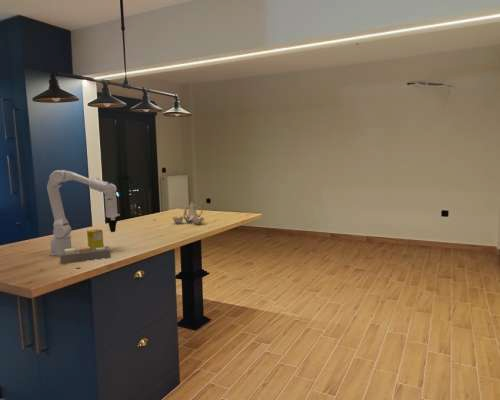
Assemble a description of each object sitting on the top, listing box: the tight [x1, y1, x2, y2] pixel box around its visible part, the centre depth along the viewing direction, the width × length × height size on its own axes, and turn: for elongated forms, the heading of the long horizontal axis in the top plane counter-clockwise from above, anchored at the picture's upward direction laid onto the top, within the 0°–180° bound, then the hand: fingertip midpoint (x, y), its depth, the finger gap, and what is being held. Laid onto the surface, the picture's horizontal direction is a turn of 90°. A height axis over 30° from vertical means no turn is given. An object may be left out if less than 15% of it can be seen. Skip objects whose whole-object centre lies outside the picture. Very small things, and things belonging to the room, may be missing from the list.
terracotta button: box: [79, 246, 90, 252], centre depth 189 cm, size 4×4×3 cm
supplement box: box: [86, 228, 105, 248], centre depth 207 cm, size 6×6×11 cm
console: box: [59, 245, 111, 265], centre depth 189 cm, size 10×22×4 cm, turn 114°
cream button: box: [65, 247, 76, 254], centre depth 186 cm, size 4×4×3 cm
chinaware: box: [171, 201, 205, 226], centre depth 286 cm, size 28×17×17 cm, turn 72°
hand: (112, 231), depth 202 cm, fingers closed
